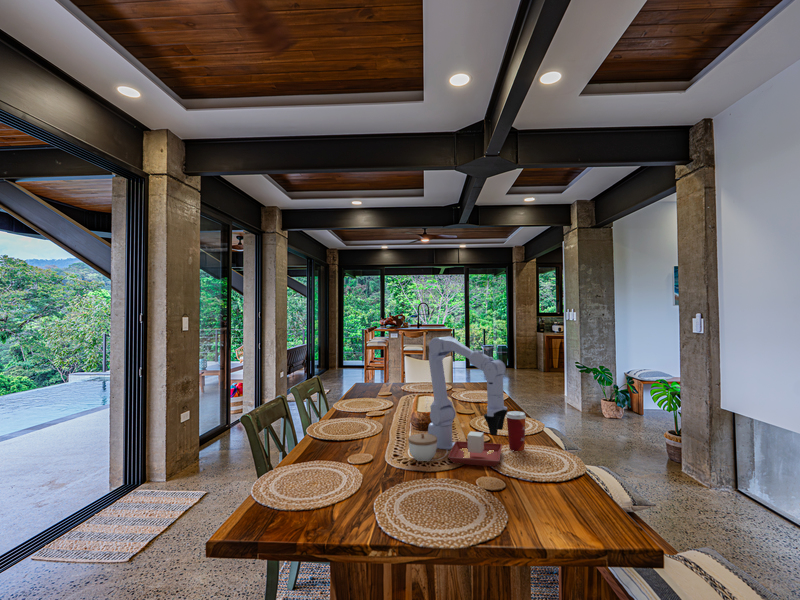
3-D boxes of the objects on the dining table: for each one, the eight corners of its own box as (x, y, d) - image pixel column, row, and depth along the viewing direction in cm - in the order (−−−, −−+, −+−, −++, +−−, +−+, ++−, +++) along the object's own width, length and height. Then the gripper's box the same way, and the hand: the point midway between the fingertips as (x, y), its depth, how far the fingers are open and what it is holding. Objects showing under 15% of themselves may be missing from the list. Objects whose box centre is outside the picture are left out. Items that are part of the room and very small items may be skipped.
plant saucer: (447, 465, 142) (447, 456, 142) (455, 448, 159) (455, 440, 160) (499, 470, 137) (499, 460, 137) (502, 452, 154) (502, 443, 154)
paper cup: (529, 452, 152) (528, 415, 152) (509, 452, 152) (508, 415, 153) (523, 445, 160) (522, 410, 160) (504, 445, 160) (503, 410, 160)
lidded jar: (427, 466, 140) (426, 439, 141) (402, 460, 147) (402, 434, 147) (443, 457, 149) (442, 432, 149) (419, 451, 155) (418, 427, 156)
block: (467, 451, 147) (467, 435, 147) (470, 447, 151) (470, 431, 151) (481, 453, 145) (480, 436, 145) (484, 448, 149) (483, 432, 149)
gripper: (501, 398, 136) (502, 439, 135) (511, 391, 149) (512, 428, 148) (480, 397, 139) (482, 436, 139) (492, 389, 152) (493, 425, 151)
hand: (496, 432), depth 144 cm, fingers open, 7 cm apart
